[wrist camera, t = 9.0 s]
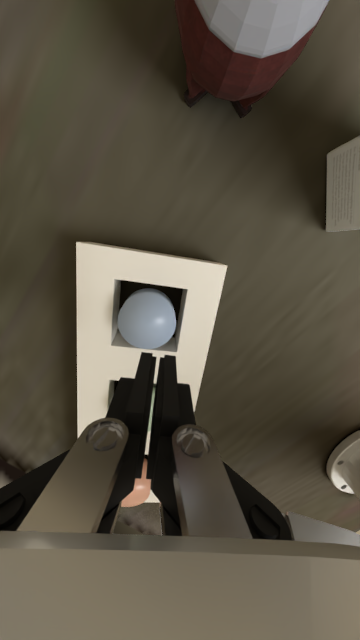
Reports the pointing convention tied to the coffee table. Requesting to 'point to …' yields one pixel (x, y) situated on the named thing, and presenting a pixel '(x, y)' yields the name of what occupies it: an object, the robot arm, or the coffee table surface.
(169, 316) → the slate blue button
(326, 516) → the coffee table surface
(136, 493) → the terracotta button
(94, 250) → the button panel
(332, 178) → the skincare box
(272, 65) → the mate gourd
